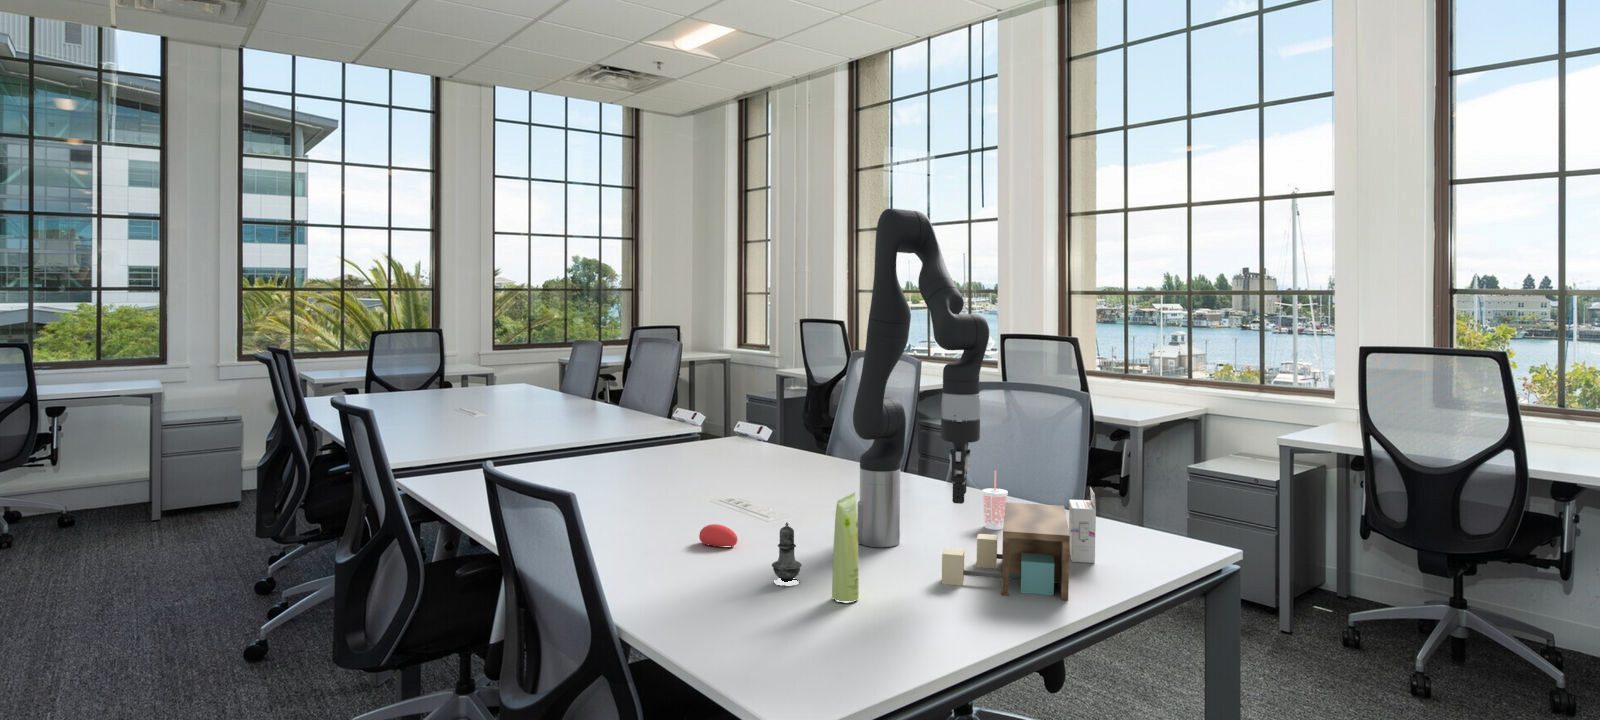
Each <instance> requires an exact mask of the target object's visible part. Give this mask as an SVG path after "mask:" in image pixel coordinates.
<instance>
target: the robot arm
mask: <svg viewBox="0 0 1600 720" xmlns="http://www.w3.org/2000/svg"><path fill="white" fill-rule="evenodd" d="M879 215H880V216H879V219H878V221H877V225H876V230H875V243H874V244H875V245H874V270H873V282H872V283H873V284H872V292H871V293H872V294H871V300H870V308H869V314H868V322H867V330H866V339H865V341H866V342H865V348H864V349H865V350H864V353H863V354H864V357H863V362H862V369H861V370H862V371H861V374H860V379H859V384H858V388H857V392H856V397H855V401H854V406H853V413H852V424H853V428H854V431H855V433H856V435H858V438H861V439H862V440H866V441H867V440H868V441H870V440H873V442H872V444H871V445H870V447H869V448H868V449H867V450H865V452H863V453H862V454H861V455H860V458H859V501H858V502H857V528H858V545H863V546H867V547H871V548H889V547H890V548H891V547H895V546H898V545H899V544H900V542H901V541H900V536H901V533H900V532H901V528H900V527H901V522H900V521H901V464H902V459H903V457H904V454H905V445H906V444H905V442H906V432H907V431H906V426H907V420H906V417H907V416H906V411H905V408H904V406H903V404H902V403H901V401H900V400H899V399H898V398H896V397H893V396H885V394H886V389H887V388H886V387H887V384H888V380H889V378H890V375H891V374H892V372H893V370H894V369H895V367H896V365H897V364H898V362H899V361H900V359H901V357H902V355H903V354H904V352H905V349H906V347H907V344H908V341H909V336H910V335H909V334H910V327H911V322H912V321H911V317H912V315H911V309H910V306H909V303H908V301H907V299H906V296H905V294H904V291H903V289H902V286H901V285H900V281H899V278H898V275H897V274H898V272H897V258H898V257H897V256H898V253H899V254H900V253H902V254H914V255H915V256H917V258H918V259H919V260H920V262H921V269H920V272H919V274H918V285H917V286H918V290H919V292H920V295H921V297H922V300H923V301H924V304H925V305H926V307H927V309H928V310H929V312H930V317H931V319H930V320H931V323H932V324H931V325H932V330H933V331H932V332H933V339H934V340H935V343H936V344H937V345H938V346H939V347H941V349H943V350H946V351H962V354H961V357H960V358H959V359H958V360H956V361H953V362H950V363H947V364H946V365H945V366H944V367H943V371H942V397H941V404H940V405H941V407H940V408H941V409H940V410H941V411H940V412H941V414H940V439H941V441H942V440H943V441H944V442H949V443H952V444H953V448H949V449H950V450H949V452H948V455H949V456H948V459H949V461H950V462H949V473H950V474H951V477H950V482H951V483H952V499H951V500H952V503H953V504H961V505H962V504H964V503H965V495H966V493H967V475H968V473H969V468H970V463H971V462H970V460H971V455H972V452H971V451H972V450H971V448H969V443H971V444H972V443H976V442H979V441H980V439H981V401H980V400H981V399H980V374H981V369H982V364H983V362H984V357H985V353H986V351H987V348H988V344H989V340H990V327H989V324H988V321H987V320H986V318H985V317H984V316H982V315H981V314H979V313H978V314H977V313H961V312H962V311H963V309H964V307H965V302H964V298H963V296H962V294H961V292H960V290H959V288H958V287H957V285H956V284H955V281H954V279H953V278H952V277H951V274H950V272H949V270H948V268H947V266H946V263H945V261H944V260H945V259H944V257H943V254H942V250H941V247H940V244H939V241H938V239H937V236H936V232H935V229H934V227H933V224H932V223H931V220H930V219H929V217H928V215H927V214H925V213H924V212H922V211H917V210H909V209H901V208H900V209H899V208H886V209H885V210H883V211H882V212H881V214H879Z"/></svg>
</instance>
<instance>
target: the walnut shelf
mask: <svg viewBox="0 0 1600 720" xmlns="http://www.w3.org/2000/svg"><path fill="white" fill-rule="evenodd" d="M1065 510H1066V508H1065V505H1056V504H1054V505H1053V504H1041V503H1040V504H1039V503H1038V504H1037V503H1020V502H1007V501H1006V503H1005V514H1004V525H1003V529H1002V552H1001V553H1002V559H1001V562H1002V563H1001V564H1002V565H1001V573H1002V578H1001V596H1009V582H1010V581H1009V580H1010V579H1009V574H1021V558H1022V553H1034V554H1048V555H1053V556H1054V584H1056V583H1057V584H1059V592H1060V600H1061V601H1069V587H1070V586H1069V585H1070V584H1069V583H1070V582H1069V581H1070V580H1069V579H1070V576H1069V575H1070V554H1069V548H1070V534H1069V523H1068V521H1067V520H1068V519H1067V514H1066V511H1065ZM1014 580H1016V581H1017V579H1014Z"/></svg>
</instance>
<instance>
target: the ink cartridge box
mask: <svg viewBox="0 0 1600 720" xmlns="http://www.w3.org/2000/svg"><path fill="white" fill-rule="evenodd" d="M1089 490H1090V491H1089V492H1090V500H1087V499H1068V500H1069V501H1068V506H1069V507H1068V510H1069V511H1068V512H1069V513H1068V529H1069V534H1070V548H1069V558H1070V560H1071V562H1072V563H1086V564H1087V563H1088V564H1096V563H1095V562H1096V530H1097V529H1096V527H1097V526H1096V523H1097V521H1096V520H1097V519H1096V518H1097V517H1096V516H1097V515H1096V514H1097V509H1096V508H1097V506H1096V496H1095V495H1096V494H1095V492H1094V491H1093V489H1092V487H1089Z"/></svg>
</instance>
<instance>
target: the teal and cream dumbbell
mask: <svg viewBox="0 0 1600 720" xmlns="http://www.w3.org/2000/svg"><path fill="white" fill-rule="evenodd" d="M965 576H969V577H981V578H992V579H994V578H995V579H1002V572H995V571H994V572H993V571H981V570H970V569H969V570H967V569H965V549H960V548H959V549H958V548H945V547H944V548H943V551H942V554H941V585H947V584H949V586H951V585H952V586H960V587H961V586H963V584H964V582H965V581H964V580H965ZM1015 579H1017V580H1018V581H1020V593H1024V594H1038V595H1040V594H1041V595H1047V596H1048V595H1049V596H1050V595H1051V596H1054V592H1055V591H1054V590H1055V589H1054V588H1055V583H1054V556H1053V555H1048V554H1034V553H1022V558H1021V574H1009V580H1015ZM1017 580H1016V581H1017Z"/></svg>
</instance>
